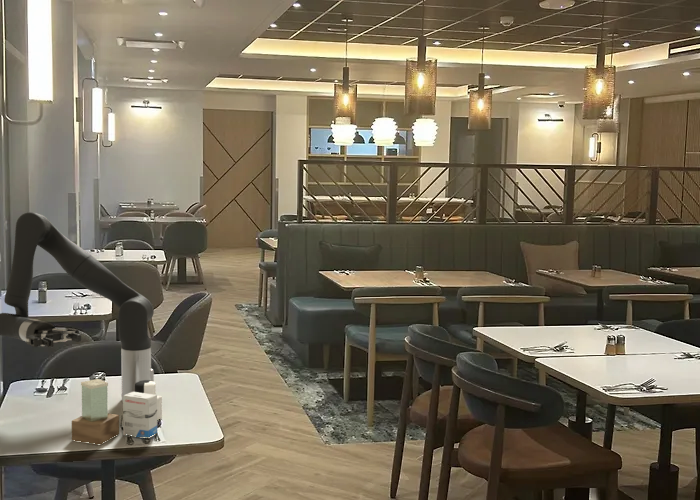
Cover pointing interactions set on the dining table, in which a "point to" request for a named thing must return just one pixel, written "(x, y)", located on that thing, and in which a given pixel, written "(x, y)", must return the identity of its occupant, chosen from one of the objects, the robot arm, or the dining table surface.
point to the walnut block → (95, 429)
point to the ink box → (139, 414)
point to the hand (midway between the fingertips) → (66, 340)
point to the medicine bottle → (150, 388)
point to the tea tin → (94, 400)
